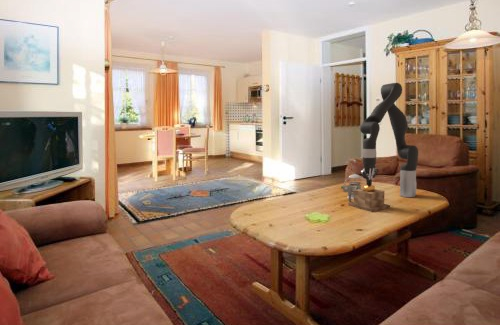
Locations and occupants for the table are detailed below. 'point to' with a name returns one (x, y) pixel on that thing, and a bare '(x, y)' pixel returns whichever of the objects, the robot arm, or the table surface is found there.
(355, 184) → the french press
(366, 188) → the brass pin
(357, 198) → the hitch block
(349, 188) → the mechanical component
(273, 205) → the table surface
